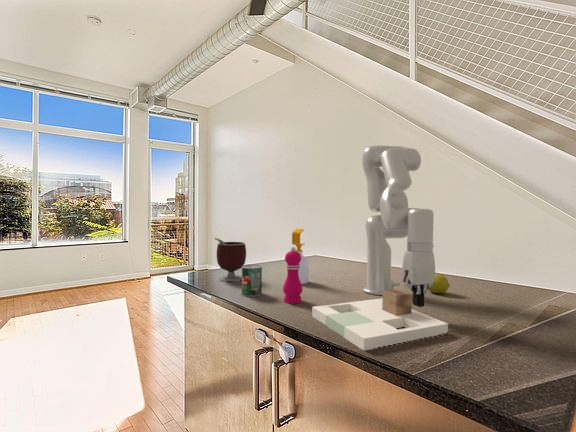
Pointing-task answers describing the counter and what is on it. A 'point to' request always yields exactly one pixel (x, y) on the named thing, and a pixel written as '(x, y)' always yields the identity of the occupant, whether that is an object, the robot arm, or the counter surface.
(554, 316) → the counter surface
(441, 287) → the lemon
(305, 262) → the soap bottle
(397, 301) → the walnut block
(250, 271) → the canned tomato
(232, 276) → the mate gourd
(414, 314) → the board
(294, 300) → the pepper mill
